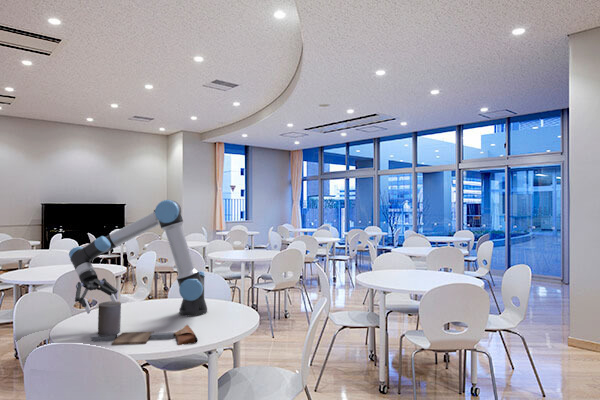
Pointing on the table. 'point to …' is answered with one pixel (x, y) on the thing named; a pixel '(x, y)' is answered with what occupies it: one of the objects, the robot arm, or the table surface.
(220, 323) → the table surface
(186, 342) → the sunglasses case
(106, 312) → the pillar candle
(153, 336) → the chain ends
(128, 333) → the brown wooden square board
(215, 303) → the table surface
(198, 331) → the table surface
